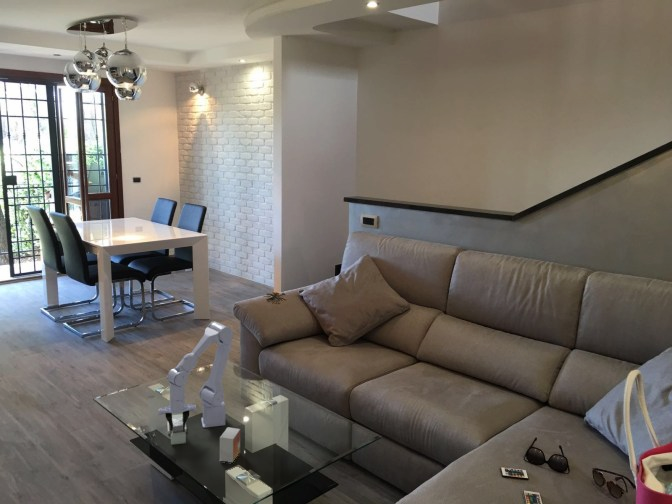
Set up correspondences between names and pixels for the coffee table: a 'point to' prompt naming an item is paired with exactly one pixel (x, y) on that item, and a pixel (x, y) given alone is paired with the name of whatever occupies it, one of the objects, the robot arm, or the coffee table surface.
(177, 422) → the steel block
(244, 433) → the coffee table surface
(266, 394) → the coffee table surface
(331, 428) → the coffee table surface
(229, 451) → the small box
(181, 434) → the vise frame
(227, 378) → the coffee table surface
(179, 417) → the sliding jaw
